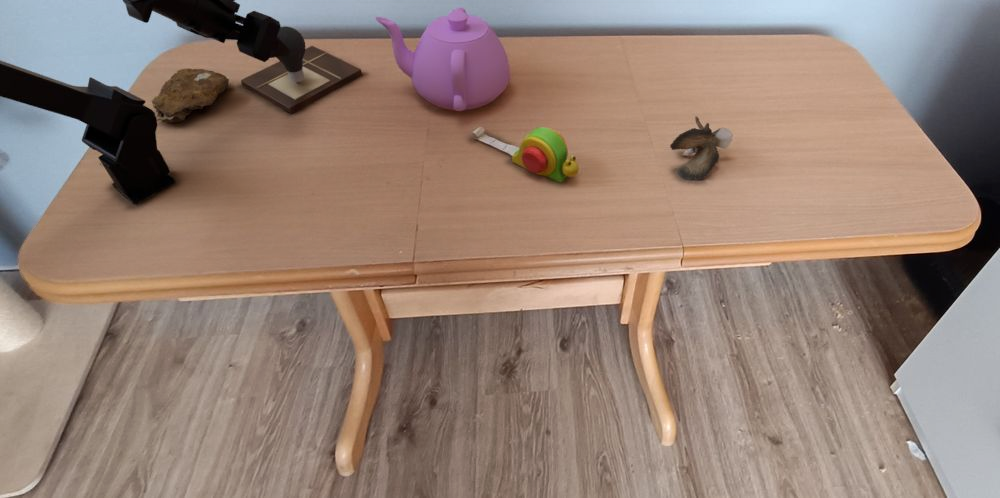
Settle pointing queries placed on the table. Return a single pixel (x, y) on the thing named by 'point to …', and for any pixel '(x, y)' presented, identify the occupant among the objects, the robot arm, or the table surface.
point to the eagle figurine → (701, 149)
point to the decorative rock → (188, 93)
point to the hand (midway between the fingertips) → (268, 44)
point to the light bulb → (293, 53)
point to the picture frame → (318, 81)
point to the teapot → (454, 61)
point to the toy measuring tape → (537, 153)
